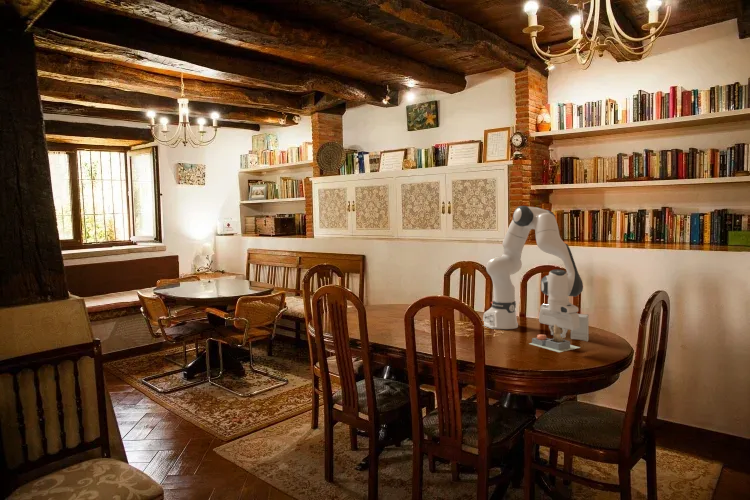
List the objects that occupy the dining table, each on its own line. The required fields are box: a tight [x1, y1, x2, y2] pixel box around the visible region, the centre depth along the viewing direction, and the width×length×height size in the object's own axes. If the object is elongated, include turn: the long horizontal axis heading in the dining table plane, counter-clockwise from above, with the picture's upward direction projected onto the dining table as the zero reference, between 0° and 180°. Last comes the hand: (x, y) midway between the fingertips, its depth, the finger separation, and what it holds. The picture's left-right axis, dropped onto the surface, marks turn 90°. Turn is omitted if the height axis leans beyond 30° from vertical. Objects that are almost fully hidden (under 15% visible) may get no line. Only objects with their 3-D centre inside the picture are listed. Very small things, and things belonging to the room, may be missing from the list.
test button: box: [536, 334, 547, 341], centre depth 244 cm, size 4×4×2 cm
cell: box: [553, 324, 564, 343], centre depth 237 cm, size 4×4×10 cm
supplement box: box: [570, 313, 590, 342], centre depth 253 cm, size 7×7×13 cm
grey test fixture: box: [528, 337, 581, 353], centre depth 240 cm, size 18×14×4 cm
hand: (558, 336), depth 237 cm, fingers closed on cell, 4 cm apart
